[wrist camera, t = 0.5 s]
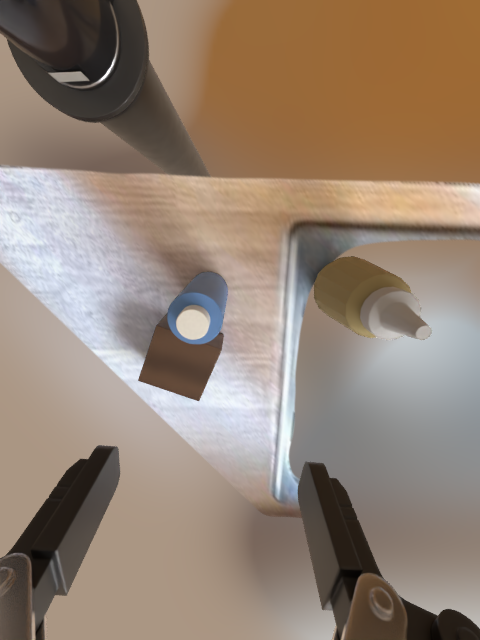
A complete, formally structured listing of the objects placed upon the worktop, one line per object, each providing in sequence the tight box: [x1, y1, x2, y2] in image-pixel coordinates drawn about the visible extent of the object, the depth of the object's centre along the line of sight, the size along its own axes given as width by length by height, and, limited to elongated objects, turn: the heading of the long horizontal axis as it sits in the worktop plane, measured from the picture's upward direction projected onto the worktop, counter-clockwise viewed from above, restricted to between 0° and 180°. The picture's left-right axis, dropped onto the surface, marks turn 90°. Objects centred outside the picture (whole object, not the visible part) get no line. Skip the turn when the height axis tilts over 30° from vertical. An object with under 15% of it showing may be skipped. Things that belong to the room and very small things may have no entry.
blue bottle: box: [167, 272, 228, 344], centre depth 29 cm, size 5×5×14 cm
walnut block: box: [138, 313, 224, 401], centre depth 36 cm, size 9×9×5 cm
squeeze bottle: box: [314, 256, 432, 340], centre depth 27 cm, size 8×8×18 cm
